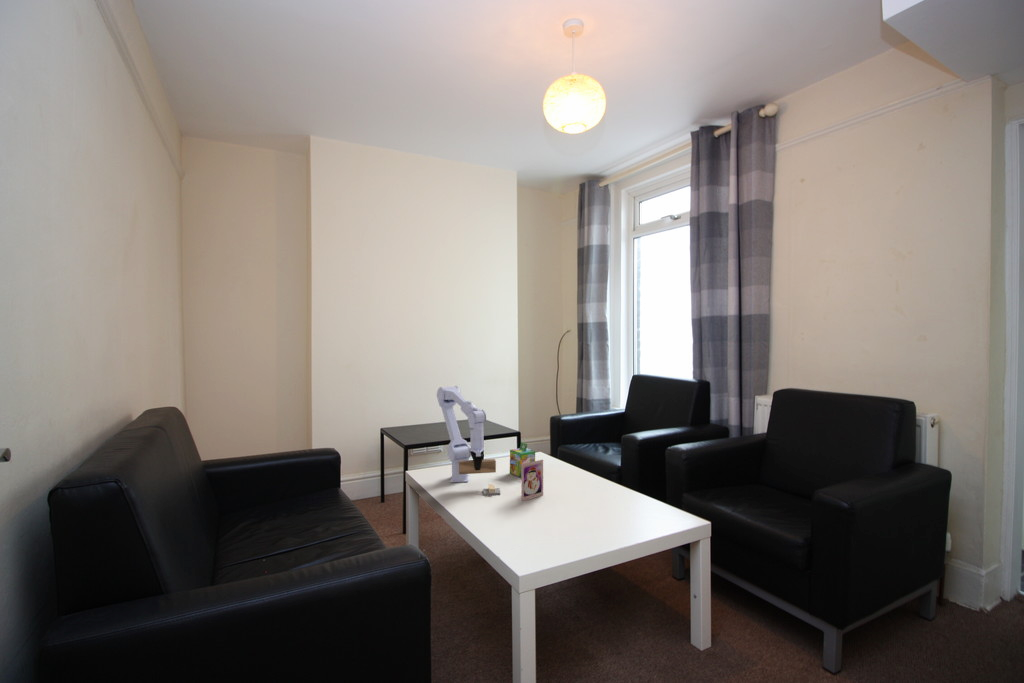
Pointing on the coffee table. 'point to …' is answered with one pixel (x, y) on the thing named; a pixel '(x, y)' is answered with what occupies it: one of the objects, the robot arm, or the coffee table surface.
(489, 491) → the fulcrum
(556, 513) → the coffee table surface
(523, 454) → the chalk box
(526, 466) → the greeting card
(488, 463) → the batten
